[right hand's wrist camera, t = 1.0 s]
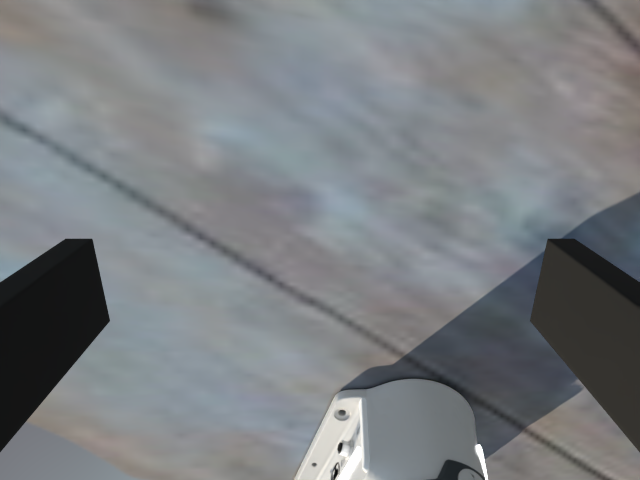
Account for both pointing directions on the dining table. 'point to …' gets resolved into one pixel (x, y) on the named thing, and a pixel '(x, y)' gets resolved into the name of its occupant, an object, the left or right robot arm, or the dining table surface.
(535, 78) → the dining table surface
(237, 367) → the dining table surface
